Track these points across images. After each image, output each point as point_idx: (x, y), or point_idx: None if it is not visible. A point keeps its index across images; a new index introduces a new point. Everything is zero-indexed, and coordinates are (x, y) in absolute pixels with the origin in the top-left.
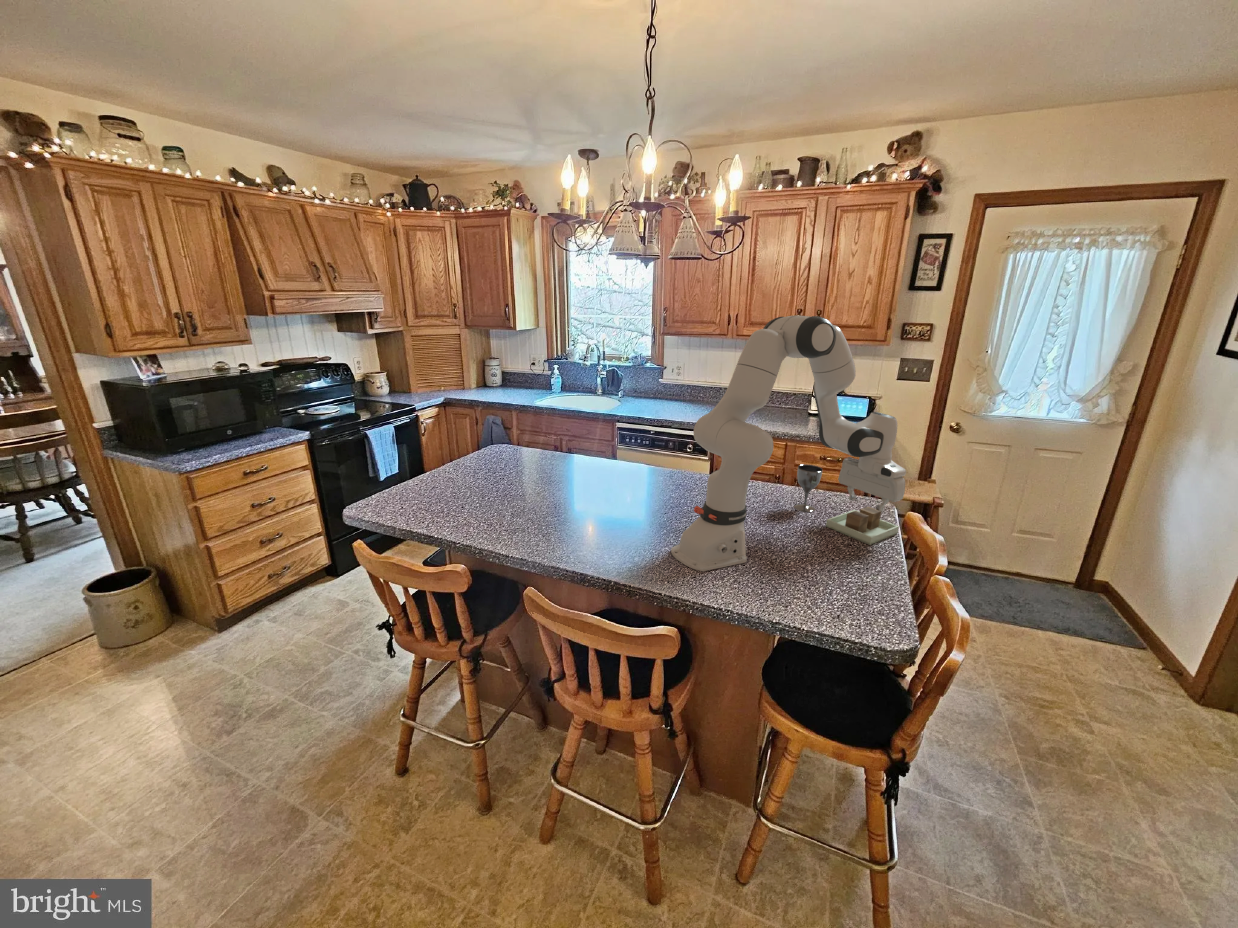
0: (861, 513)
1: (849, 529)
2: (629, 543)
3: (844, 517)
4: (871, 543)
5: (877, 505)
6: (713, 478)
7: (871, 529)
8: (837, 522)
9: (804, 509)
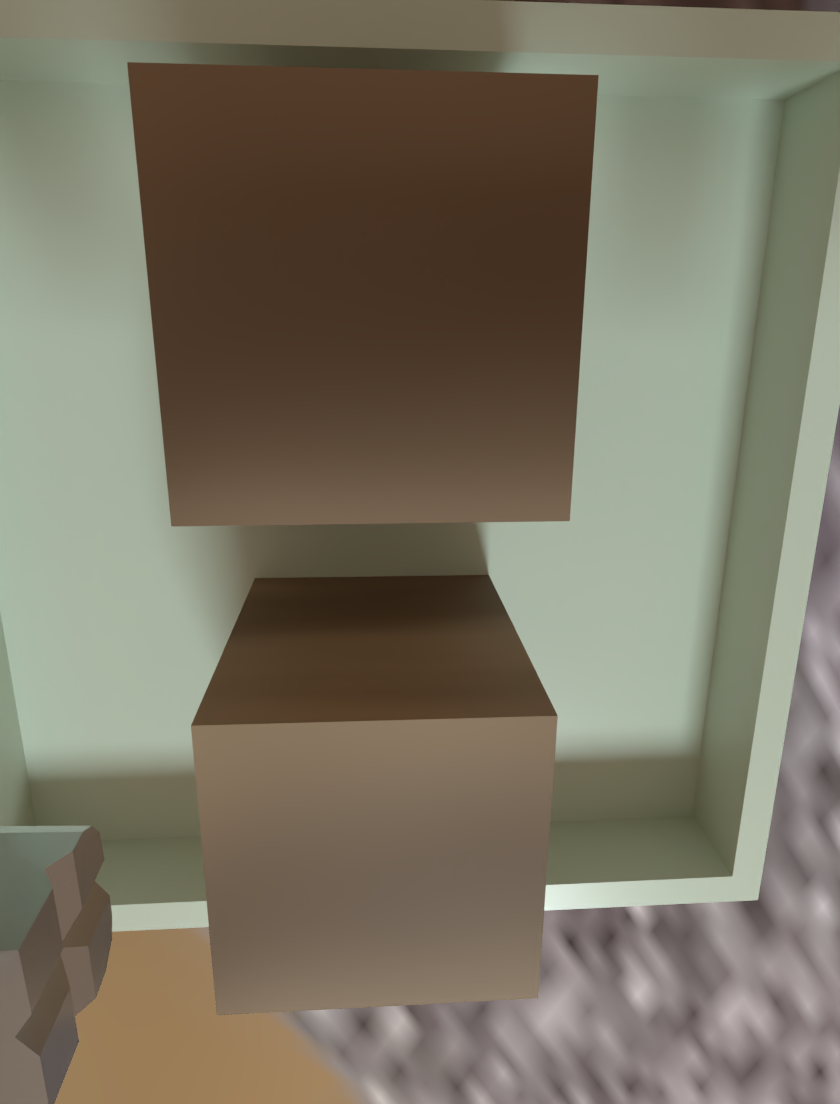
0: (373, 490)
1: (333, 6)
2: None
3: (741, 577)
4: None
5: (4, 935)
6: None
7: None
8: (736, 354)
9: None
